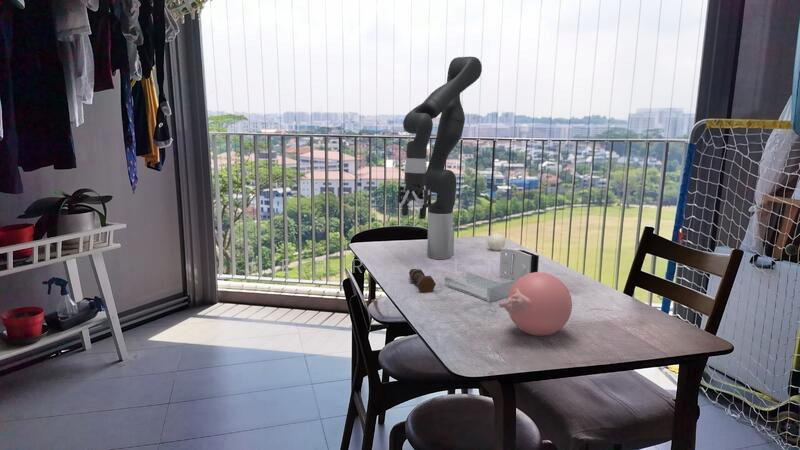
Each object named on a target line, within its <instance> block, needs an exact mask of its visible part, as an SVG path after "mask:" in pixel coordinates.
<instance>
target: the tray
mask: <svg viewBox="0 0 800 450" xmlns="http://www.w3.org/2000/svg"><path fill="white" fill-rule="evenodd" d="M515 282H516V281H515V280H510V281H507V282H503V281H500V280H497V279H494V278H491V277H487V276H485V275H481V274H478V273H475V272H472V271H467V272H466V277H463V278H459V279H455V278H452V277H449V276H445V277H444V282H443V283H444V286H445V287H447V288H450V289H452V290H456V291H458V292H461V293H464V294H466V295H469V296H472V297H475V298H478V299H481V300H483V301H486V302H488V303H491V302H495V301H497V300H502V299H506V298H507V297H508V293H509V291H510V288H511V287H512V285H513V284H514V283H515Z"/></svg>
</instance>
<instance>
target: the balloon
mask: <svg viewBox="0 0 800 450" xmlns="http://www.w3.org/2000/svg"><path fill="white" fill-rule="evenodd" d="M514 282H515V283H514V284H513V285H512V287H511V288H510V291H509V293H508V297H506V298H507V299H505V300H503V301H502V302H499V303H498V306H499V307H500V308H504V310H505V311H506V312H508V315H509V317H510V319H511V321H512V322H513V324H514V325H515V326H516V327H517V328H518V329H519V330H521V331H523V332H524V333H526V334H529V335H531V336H535V337H537V336H538V337H540V336H541V337H542V336H543V337H544V336H549V335H553V334H555V333H558V331H560V330H561V329H563V328H564V326H565V325H566V324H567V323H568V321H569V320H570V317H571V315H572V311H573V301H572V295H571V293H570V291H569V289H568V287H567V286H566V284H565V283H564V282H563V281H562V280H560V278H558V277H557V276H555V275H552V274H550V273H547V272H541V271H538V272H534V273H529V274H526V275H524V276H522V277H520V278H519V279H518V280H517V281H514Z"/></svg>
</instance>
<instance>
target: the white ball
mask: <svg viewBox="0 0 800 450" xmlns="http://www.w3.org/2000/svg"><path fill="white" fill-rule="evenodd" d="M486 244H487V245H488V247H489V248H490V249H491V250H493V251H501V248H505V245H506V238H505V236H504V235H503V234H502V233H496V232H495V233H493V234H491V235H490V236H489V237H488V238H487V243H486Z"/></svg>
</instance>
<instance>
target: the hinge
mask: <svg viewBox="0 0 800 450" xmlns="http://www.w3.org/2000/svg"><path fill="white" fill-rule="evenodd" d="M499 257H500V259H499V277H498V278H501V279H502V278H503V279H509V280H512V281H514V282H516V281H517V280H518V279H519V278H520V277H522V276H524V275H526V274H529V273H534V272H539V263H540V261H539V259H540V255H539V254H538V253H534V252H533V251H529V250H527V249H522V248H520V247H512V248H508V247H506V248H505V247H503V248H501V250H500V255H499ZM505 272H506V273H505Z"/></svg>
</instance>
